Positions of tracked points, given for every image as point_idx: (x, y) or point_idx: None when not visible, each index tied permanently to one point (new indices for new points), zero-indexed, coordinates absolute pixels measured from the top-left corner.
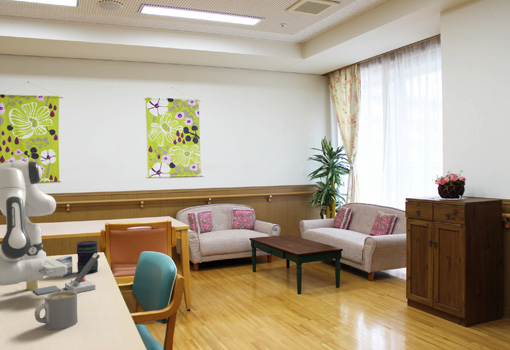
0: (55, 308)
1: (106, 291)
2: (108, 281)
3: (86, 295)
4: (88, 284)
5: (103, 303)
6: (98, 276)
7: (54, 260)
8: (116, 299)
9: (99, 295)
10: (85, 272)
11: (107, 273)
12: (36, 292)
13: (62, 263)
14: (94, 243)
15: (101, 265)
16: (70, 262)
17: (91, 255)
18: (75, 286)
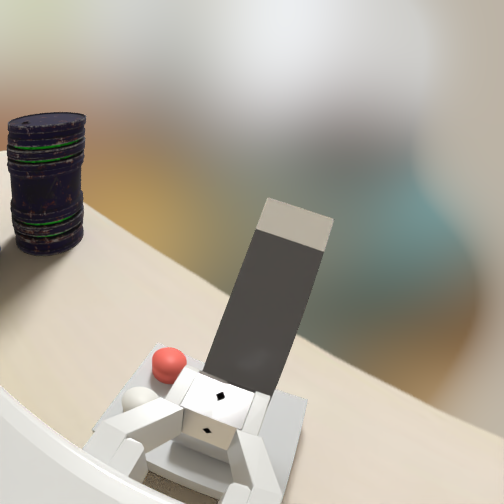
0: None
1: (372, 410)
2: None
3: (365, 495)
4: (269, 411)
5: (499, 486)
6: (126, 266)
7: (12, 437)
8: (484, 439)
9: (408, 458)
10: (280, 374)
11: (133, 239)
12: None
13: (141, 437)
14: (83, 120)
15: None
16: (245, 395)
17: (72, 173)
18: None
